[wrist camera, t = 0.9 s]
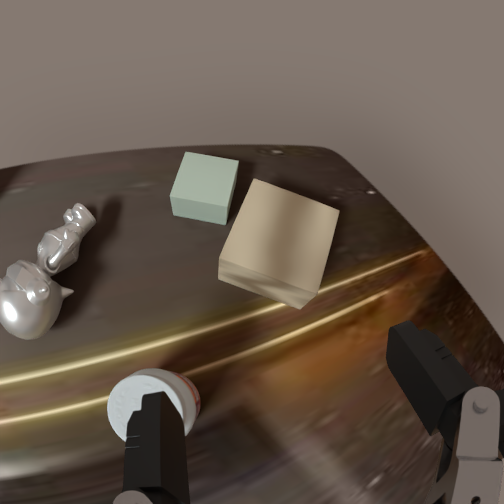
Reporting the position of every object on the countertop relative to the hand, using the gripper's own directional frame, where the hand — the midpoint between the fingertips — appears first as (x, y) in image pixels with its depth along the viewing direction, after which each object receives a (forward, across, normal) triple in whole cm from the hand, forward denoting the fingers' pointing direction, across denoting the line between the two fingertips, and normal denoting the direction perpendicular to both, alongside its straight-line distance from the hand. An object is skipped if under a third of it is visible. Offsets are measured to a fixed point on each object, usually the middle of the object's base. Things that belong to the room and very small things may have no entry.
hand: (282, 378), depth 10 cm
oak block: (+23, -3, +9) cm, 25 cm away
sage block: (+29, +2, +2) cm, 29 cm away
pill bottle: (+13, +10, +16) cm, 23 cm away
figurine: (+23, +20, +5) cm, 31 cm away
